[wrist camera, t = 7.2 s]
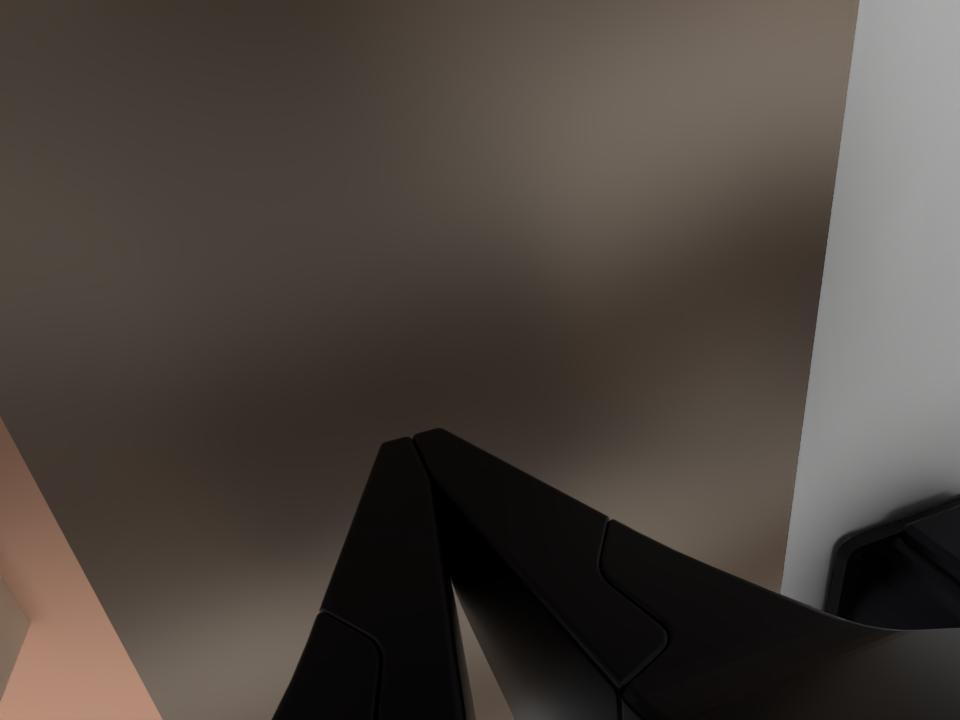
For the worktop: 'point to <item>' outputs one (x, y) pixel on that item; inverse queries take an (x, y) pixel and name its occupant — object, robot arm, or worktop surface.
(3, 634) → the cream rectangular block
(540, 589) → the robot arm
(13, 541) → the mat
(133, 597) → the deck
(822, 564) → the worktop surface
